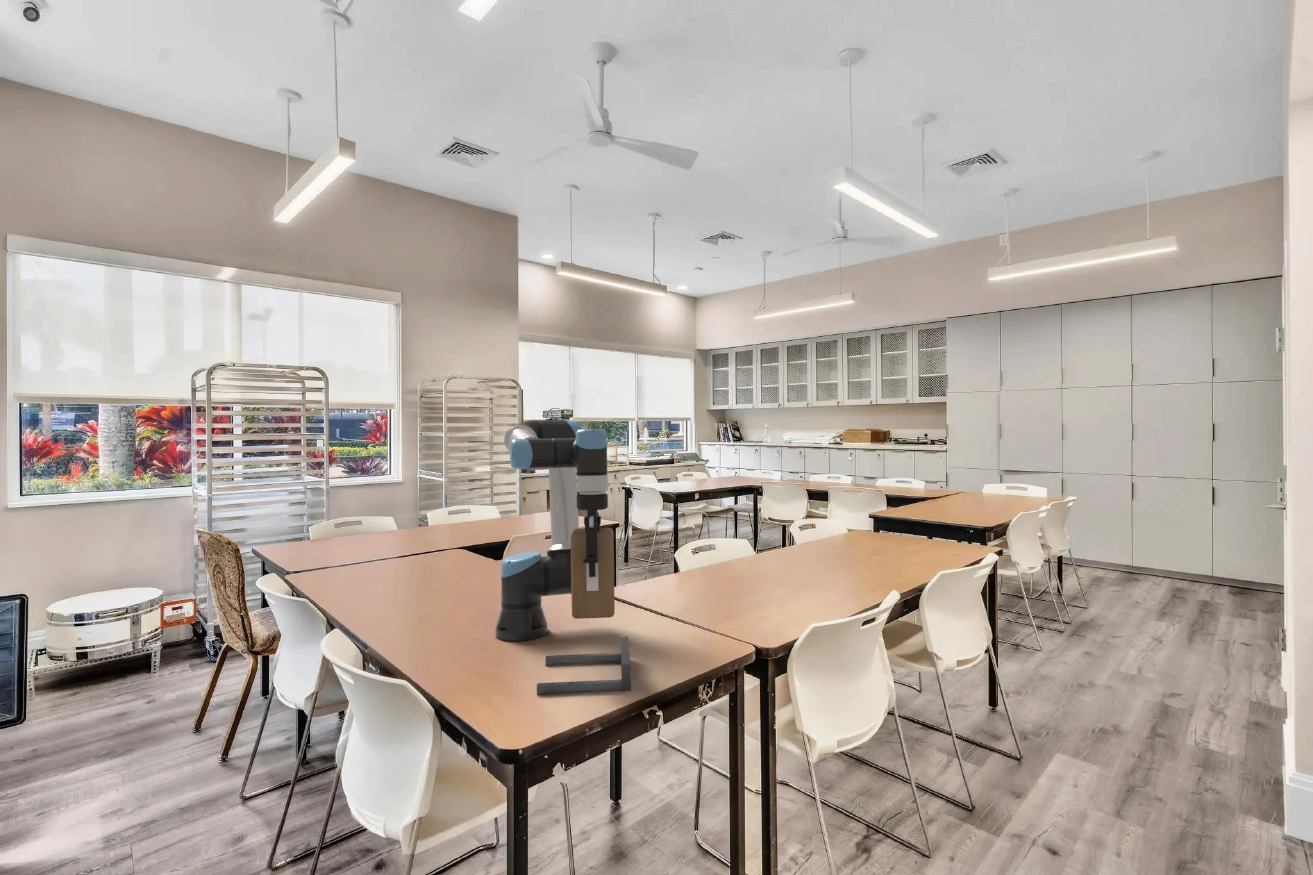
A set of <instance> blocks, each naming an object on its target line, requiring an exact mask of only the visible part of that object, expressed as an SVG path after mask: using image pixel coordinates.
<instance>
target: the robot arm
mask: <svg viewBox="0 0 1313 875" xmlns="http://www.w3.org/2000/svg"><path fill="white" fill-rule="evenodd" d="M607 437H608V436H607V431H606V430H605V429H603V428H582V426H581V424H580V422H578V421H577V420H570V419H569V420H567V419H542V420H541V419H540V420H539V419H537V420H536V419H532V420H525V421H524V420H523V421H521V422H519V423H516V424H514V425H512V426H511V427H510V428H508V430H507V431H506V433H505V436H504V446H505V448H506V449H507V451H508V452H509V462H510V467H511V468H513V469H519V470H520V469H522V470H528V469H530V470H531V469H548V483H549V484H548V485H549V487H548V488H549V507H550V512H549V513H550V532H551V533H550V534H551V545H550V546H549V547H548V548H547V550H546V556H542V554H541V553H540V551H539V552H538V551H527V552H521V553H517V554H513V555H511V556H508V557H506V558H504V559H503V560H502V562H501V565H500V567H501V568H500V578H501V579H500V580H501V581H500V583H501V584H500V585H501V586H500V588H501V590H500V592H501V593H500V594H501V600H500V601H501V602H500V604H501V608H500V612H499V616H498V619H497V621H496V624H495V637H496V638H497V639H499V640H502V641H508V642H509V641H510V642H519V641H521V642H523V641H530V640H534V639H538V638H541V637H544V636H545V635H546V634H548V631H549V630H548V629H549V628H548V626H549V625H548V622H547V619H546V616H545V612H544V610H543V607H542V597H549V596H561V595H571V535H572V533H573V531H574V530H575V529H577V528H580V524H579V523H580V522H579V521H580V519H579V511H586V516H584V518H583V524H584V528H585V532H586V559H585V560H583V563H586V578H587V591H598V590H599V589H598V562H597V561H598V558H597V532H599V531H600V528H601V522H602V516H601V515H600V514H599V512H598V511H602V510H606V509H608V508H609V495H608V493H607V491H608V490H609V479H608V478H609V476H608V438H607Z"/></svg>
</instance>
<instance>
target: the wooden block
mask: <svg viewBox="0 0 1313 875" xmlns="http://www.w3.org/2000/svg"><path fill="white" fill-rule="evenodd" d="M614 536H615V535H614V530H613V528H612V527H600V531H599V532H597V558H598V561H597V562H598V589H599V590H598V591H587V578H586V563H583V560H585V559H586V532H585V527H584V528H582V527H581V528H580V527H579V528H577V529H575V530H574V531H573V533H572V535H571V594H570V596H571V616H572V618H573V619H577V620H578V619H579V620H580V619H582V620H583V619H605V618H612V617H614V615H615V610H616V608H615V606H616V604H615V556H614V555H615V553H614V552H615V550H614V549H615V547H614V543H615V542H614Z"/></svg>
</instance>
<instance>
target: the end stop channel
mask: <svg viewBox="0 0 1313 875" xmlns="http://www.w3.org/2000/svg"><path fill="white" fill-rule="evenodd" d="M619 640H620V652H605V653H603V652H602V653H599V652H598V653H584V654H583V653H582V654H581V653H580V654H577V653H576V654H575V653H574V654H555V655H545V666H547V667H548V666H550V667H551V666H553V667H554V666H571V665H573V666H574V665H575V666H577V665H598V664H599V665H600V664H620V671H621V672H620V675H621V676H620V677H621V679H602V680H601V679H600V680H579V681H577V680H576V681H555V682H537V684H536V696H542V695H543V696H544V695H563V694H565V695H566V694H585V693H586V694H588V693H607V692H632V681H631V679H632V676H631V674H632V673H631V672H632V671H631V670H632V668H631V652H630V643H629V642H630V641H629V640H630V639H629V636H620V639H619Z"/></svg>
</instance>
